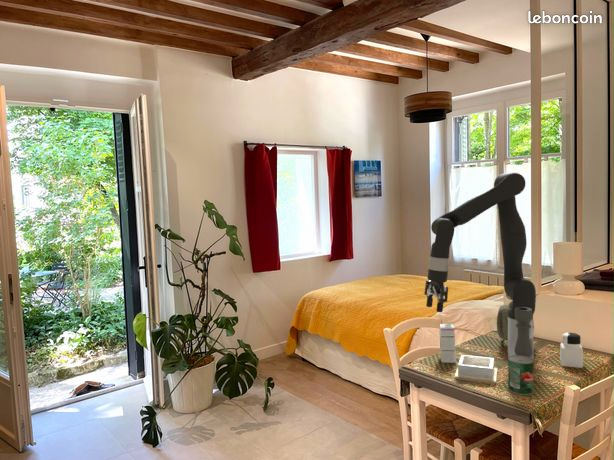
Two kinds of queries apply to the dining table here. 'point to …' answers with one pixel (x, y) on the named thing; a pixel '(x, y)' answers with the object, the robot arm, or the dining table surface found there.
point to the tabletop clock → (504, 321)
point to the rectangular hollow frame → (476, 369)
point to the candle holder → (523, 331)
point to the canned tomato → (520, 375)
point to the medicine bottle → (571, 351)
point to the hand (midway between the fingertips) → (434, 309)
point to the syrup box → (447, 343)
